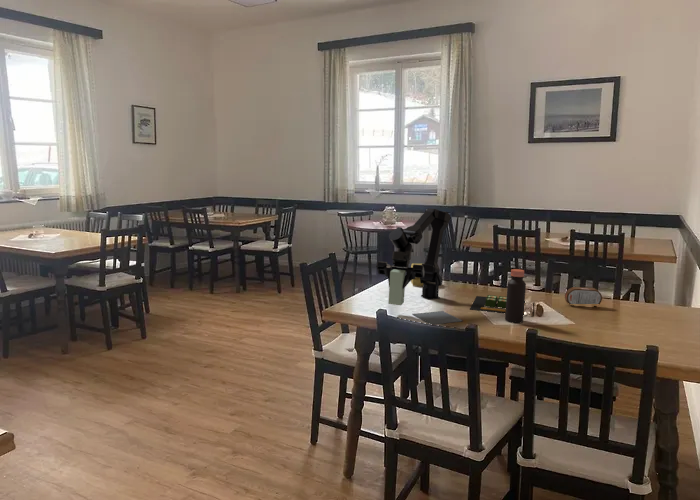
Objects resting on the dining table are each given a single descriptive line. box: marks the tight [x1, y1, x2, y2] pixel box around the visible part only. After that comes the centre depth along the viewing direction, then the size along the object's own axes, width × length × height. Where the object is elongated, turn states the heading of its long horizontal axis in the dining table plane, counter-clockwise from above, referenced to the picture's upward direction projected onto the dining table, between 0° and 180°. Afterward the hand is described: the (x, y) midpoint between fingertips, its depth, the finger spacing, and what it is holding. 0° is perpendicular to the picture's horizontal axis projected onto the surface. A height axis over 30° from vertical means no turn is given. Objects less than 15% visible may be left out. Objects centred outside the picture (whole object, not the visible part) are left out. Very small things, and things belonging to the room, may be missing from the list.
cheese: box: [410, 263, 423, 287], centre depth 267 cm, size 10×11×10 cm
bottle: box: [504, 268, 527, 324], centre depth 206 cm, size 7×7×20 cm
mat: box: [412, 310, 463, 325], centre depth 209 cm, size 14×14×1 cm
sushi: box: [469, 294, 507, 314], centre depth 230 cm, size 25×25×4 cm
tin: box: [564, 286, 603, 305], centre depth 231 cm, size 15×3×8 cm, turn 84°
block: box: [387, 269, 406, 306], centre depth 210 cm, size 5×5×13 cm
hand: (396, 287), depth 209 cm, fingers closed on block, 5 cm apart
